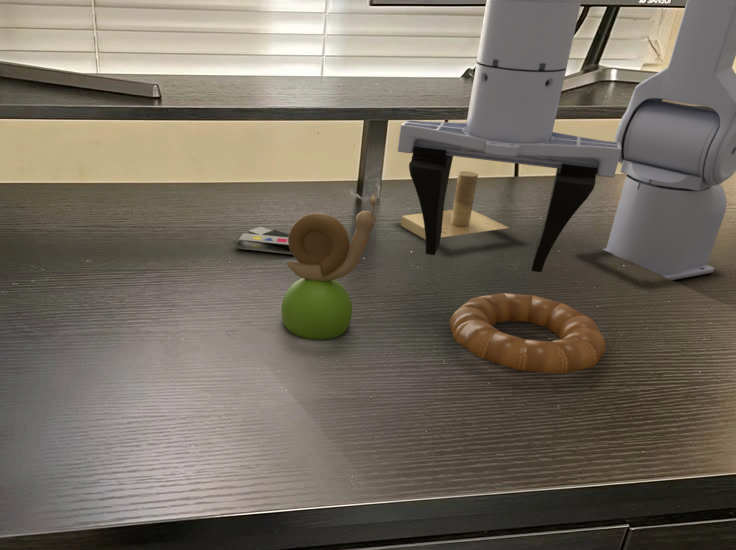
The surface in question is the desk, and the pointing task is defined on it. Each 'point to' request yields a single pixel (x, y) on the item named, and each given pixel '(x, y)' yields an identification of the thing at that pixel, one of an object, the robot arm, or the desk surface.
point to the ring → (566, 355)
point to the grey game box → (265, 241)
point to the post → (457, 213)
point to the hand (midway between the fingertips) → (483, 258)
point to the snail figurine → (323, 273)
